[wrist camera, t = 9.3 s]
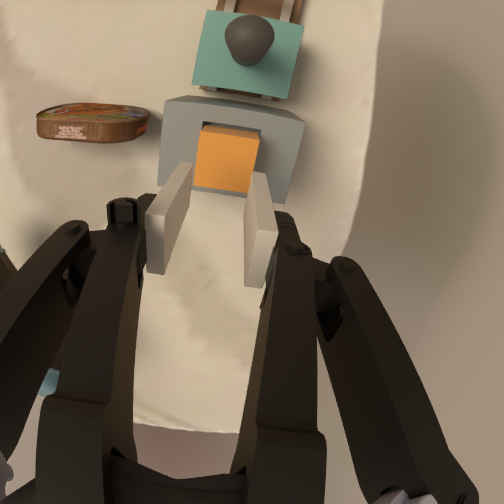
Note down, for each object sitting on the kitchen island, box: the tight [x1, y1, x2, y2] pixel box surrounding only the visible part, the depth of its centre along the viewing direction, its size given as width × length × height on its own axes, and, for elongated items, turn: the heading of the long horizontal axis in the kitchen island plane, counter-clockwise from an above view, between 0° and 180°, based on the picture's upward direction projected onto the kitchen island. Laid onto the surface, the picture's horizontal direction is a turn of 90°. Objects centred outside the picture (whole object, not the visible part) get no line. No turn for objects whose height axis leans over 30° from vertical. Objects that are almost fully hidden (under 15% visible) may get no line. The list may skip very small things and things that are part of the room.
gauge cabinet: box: [157, 95, 306, 204], centre depth 27 cm, size 12×8×10 cm, turn 79°
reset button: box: [193, 125, 260, 193], centre depth 21 cm, size 4×4×3 cm
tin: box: [36, 103, 149, 143], centre depth 25 cm, size 15×3×8 cm, turn 75°
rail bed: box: [199, 0, 302, 101], centre depth 21 cm, size 22×9×2 cm, turn 169°
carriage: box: [192, 10, 304, 99], centre depth 18 cm, size 8×9×13 cm
